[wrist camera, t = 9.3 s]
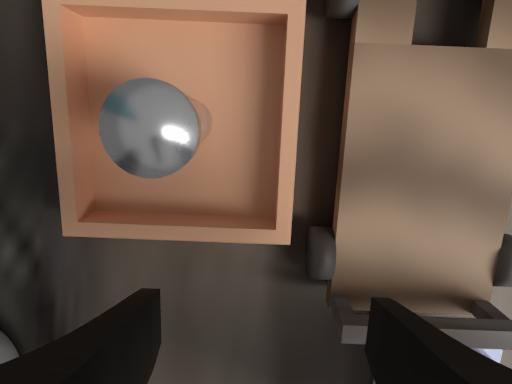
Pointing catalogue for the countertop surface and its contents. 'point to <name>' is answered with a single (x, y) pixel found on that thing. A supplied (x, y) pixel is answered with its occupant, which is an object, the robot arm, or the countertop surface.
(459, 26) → the countertop surface
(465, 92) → the trolley
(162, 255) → the countertop surface
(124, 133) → the pin
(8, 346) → the pump dispenser
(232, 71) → the tray
